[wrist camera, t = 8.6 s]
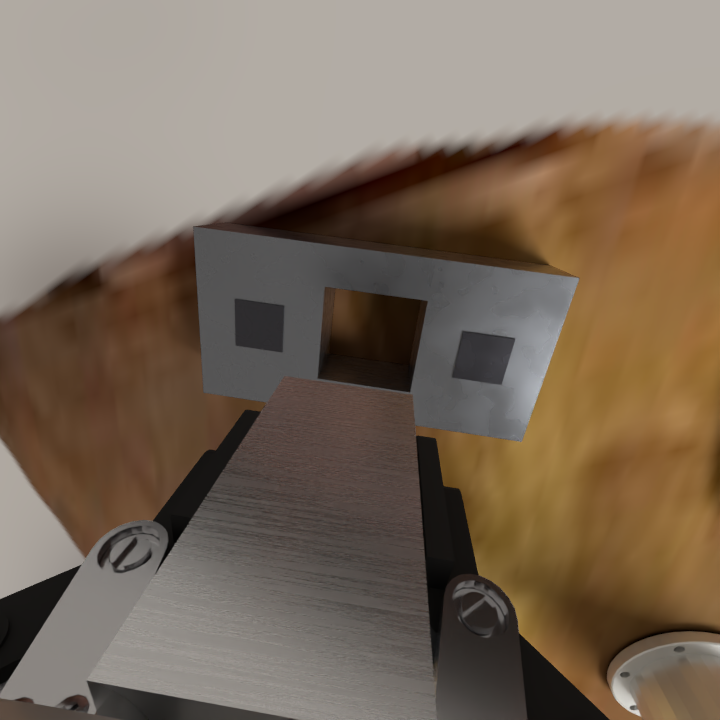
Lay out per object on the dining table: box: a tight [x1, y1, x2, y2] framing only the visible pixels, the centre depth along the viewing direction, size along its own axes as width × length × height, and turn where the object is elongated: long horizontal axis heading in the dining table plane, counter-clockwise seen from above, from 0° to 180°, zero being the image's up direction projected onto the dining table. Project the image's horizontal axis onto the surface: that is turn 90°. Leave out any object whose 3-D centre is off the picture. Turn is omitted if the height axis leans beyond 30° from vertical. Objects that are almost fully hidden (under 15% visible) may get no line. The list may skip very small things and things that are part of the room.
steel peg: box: [87, 376, 437, 720], centre depth 9 cm, size 4×4×8 cm
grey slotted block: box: [193, 223, 579, 442], centre depth 23 cm, size 20×10×4 cm, turn 83°
